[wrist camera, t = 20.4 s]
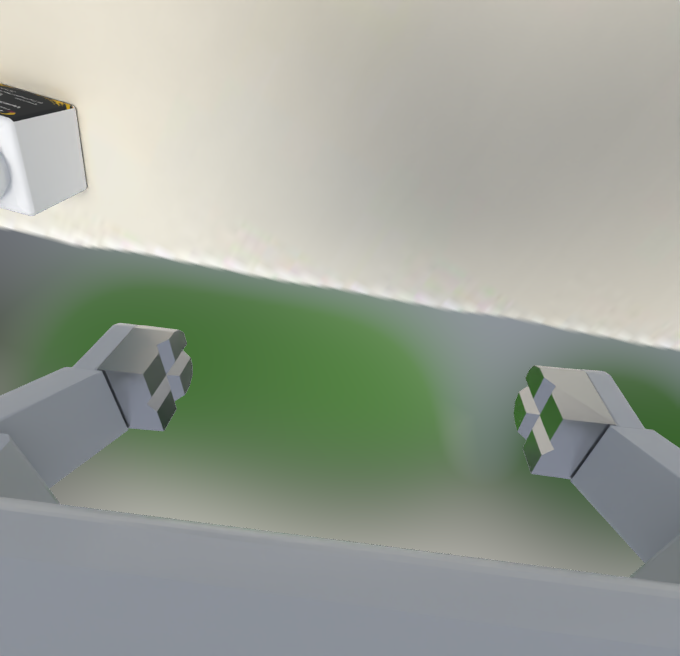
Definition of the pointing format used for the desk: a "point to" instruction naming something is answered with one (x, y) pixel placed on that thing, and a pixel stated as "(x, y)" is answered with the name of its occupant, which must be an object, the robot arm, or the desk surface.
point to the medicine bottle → (38, 152)
